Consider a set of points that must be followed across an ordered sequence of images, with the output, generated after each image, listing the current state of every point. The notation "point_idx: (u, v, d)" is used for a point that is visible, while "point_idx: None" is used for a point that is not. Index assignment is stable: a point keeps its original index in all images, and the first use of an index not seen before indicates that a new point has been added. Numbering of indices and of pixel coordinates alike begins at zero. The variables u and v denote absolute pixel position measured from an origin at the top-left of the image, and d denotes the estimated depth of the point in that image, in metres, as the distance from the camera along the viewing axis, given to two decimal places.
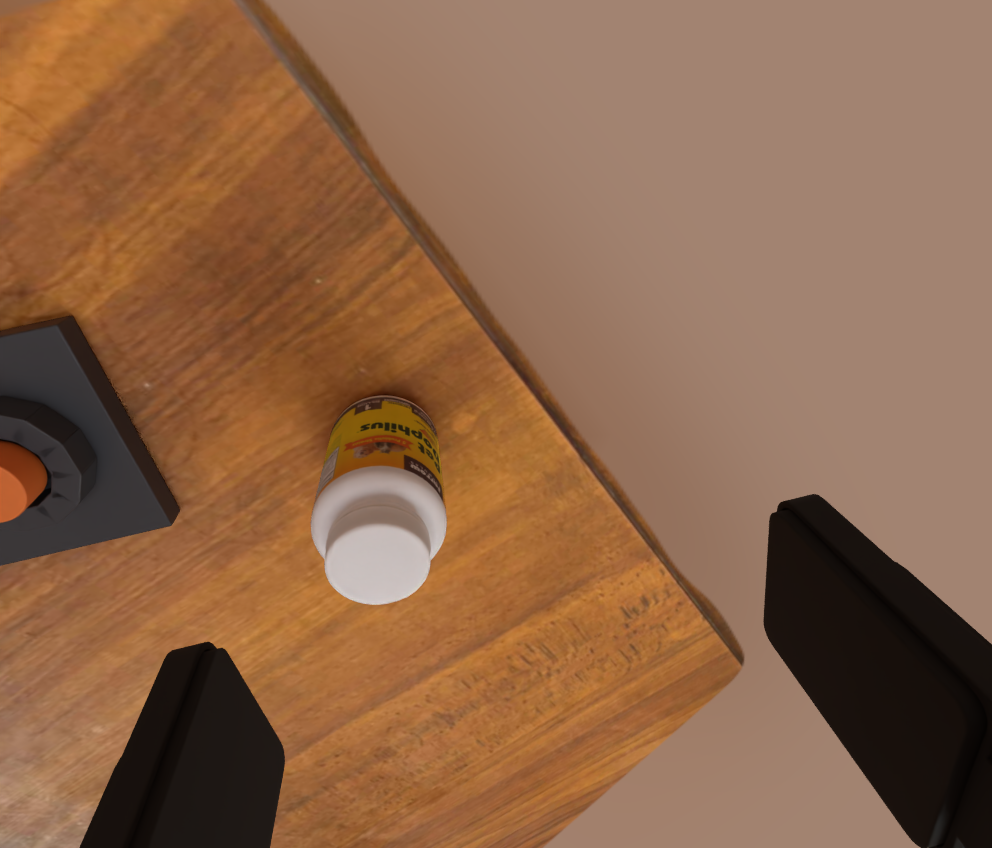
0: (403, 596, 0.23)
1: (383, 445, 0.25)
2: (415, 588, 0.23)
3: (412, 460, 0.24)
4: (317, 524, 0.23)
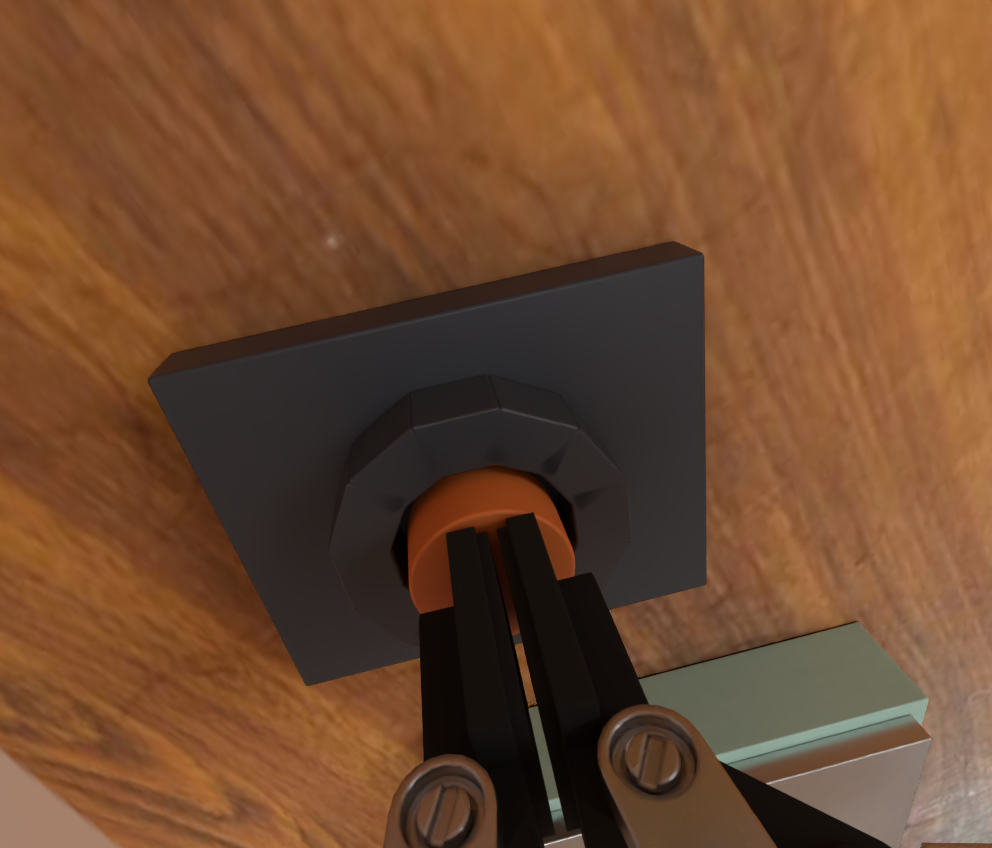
0: None
1: None
2: None
3: None
4: None
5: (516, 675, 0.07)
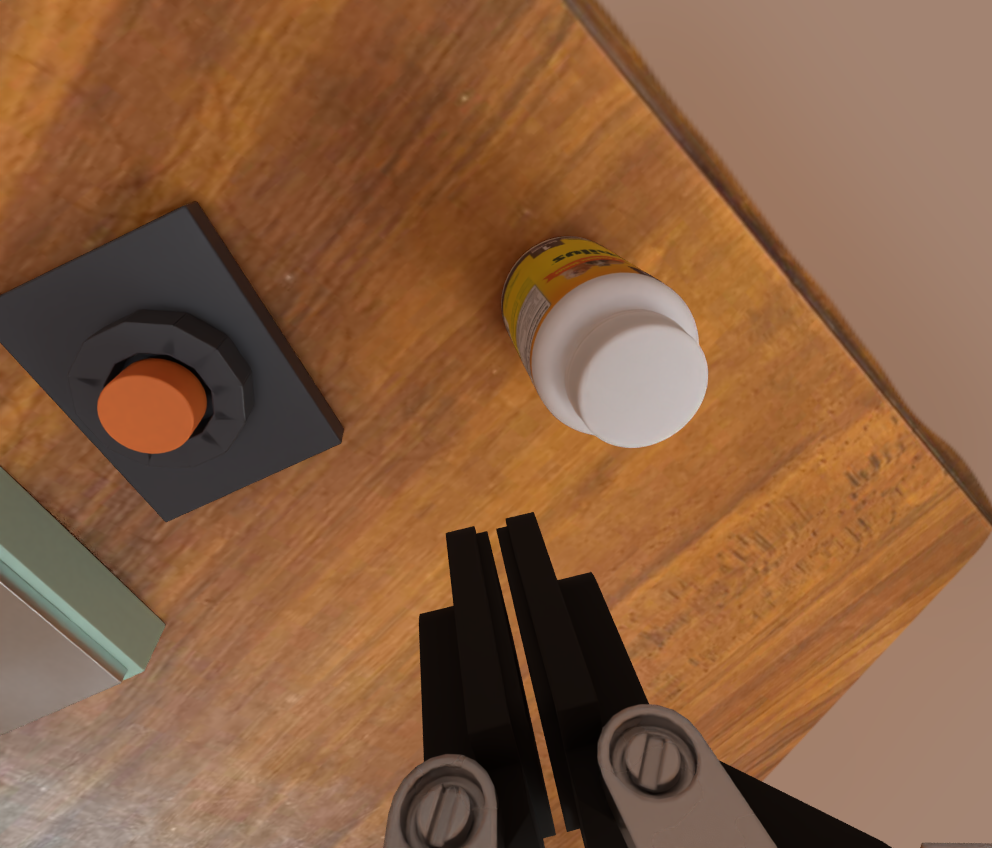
0: (675, 429, 0.18)
1: (596, 262, 0.19)
2: (690, 415, 0.17)
3: (639, 270, 0.19)
4: (545, 363, 0.18)
5: (516, 675, 0.07)
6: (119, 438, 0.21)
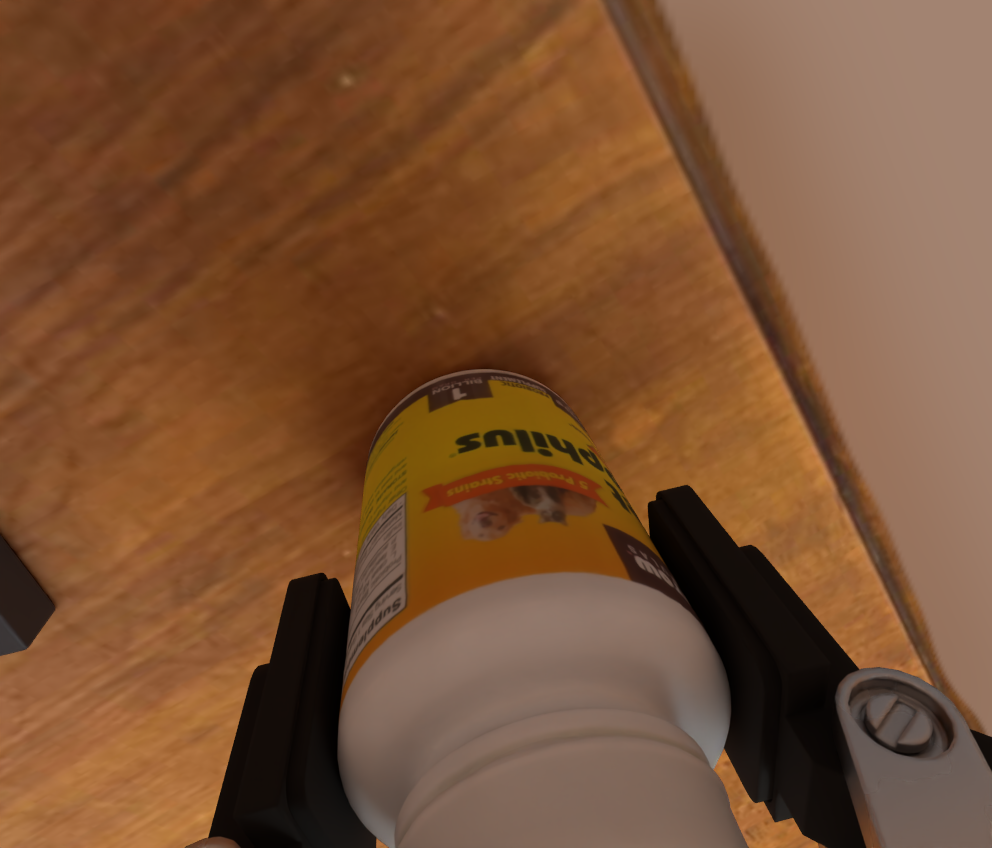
0: None
1: (539, 495, 0.09)
2: None
3: (629, 541, 0.08)
4: (360, 762, 0.07)
5: (306, 747, 0.07)
6: None
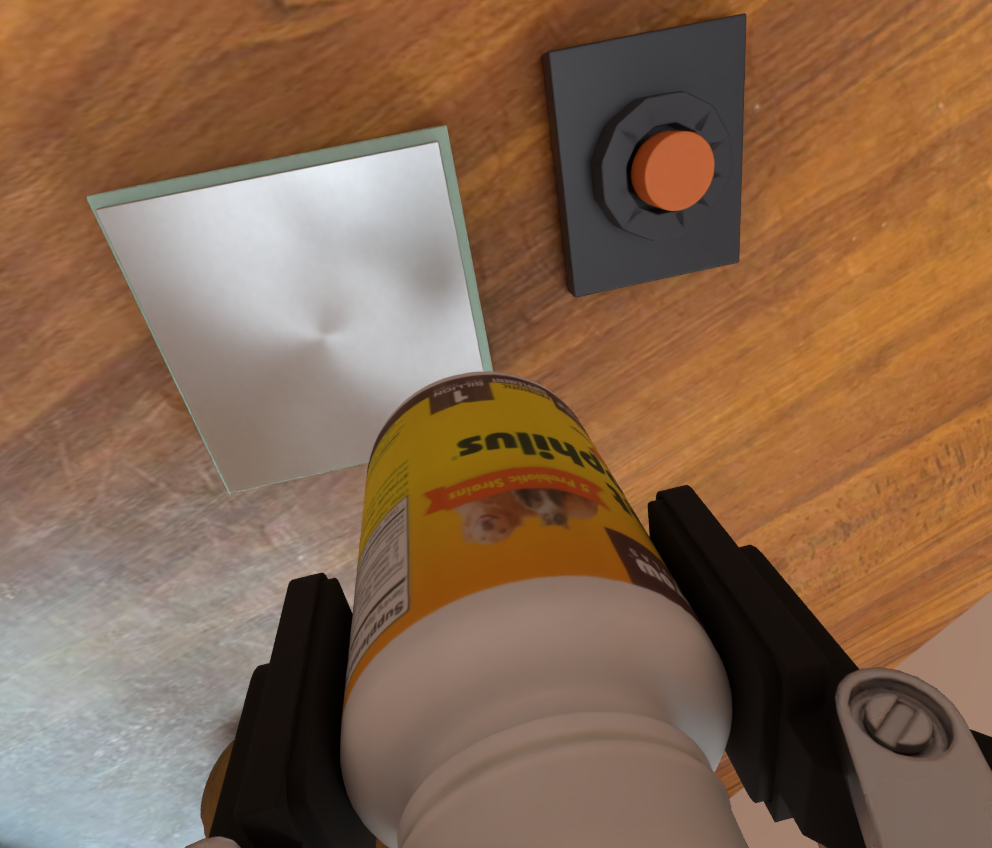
0: None
1: (540, 498, 0.09)
2: None
3: (630, 544, 0.08)
4: (363, 765, 0.07)
5: (306, 746, 0.07)
6: (650, 186, 0.25)
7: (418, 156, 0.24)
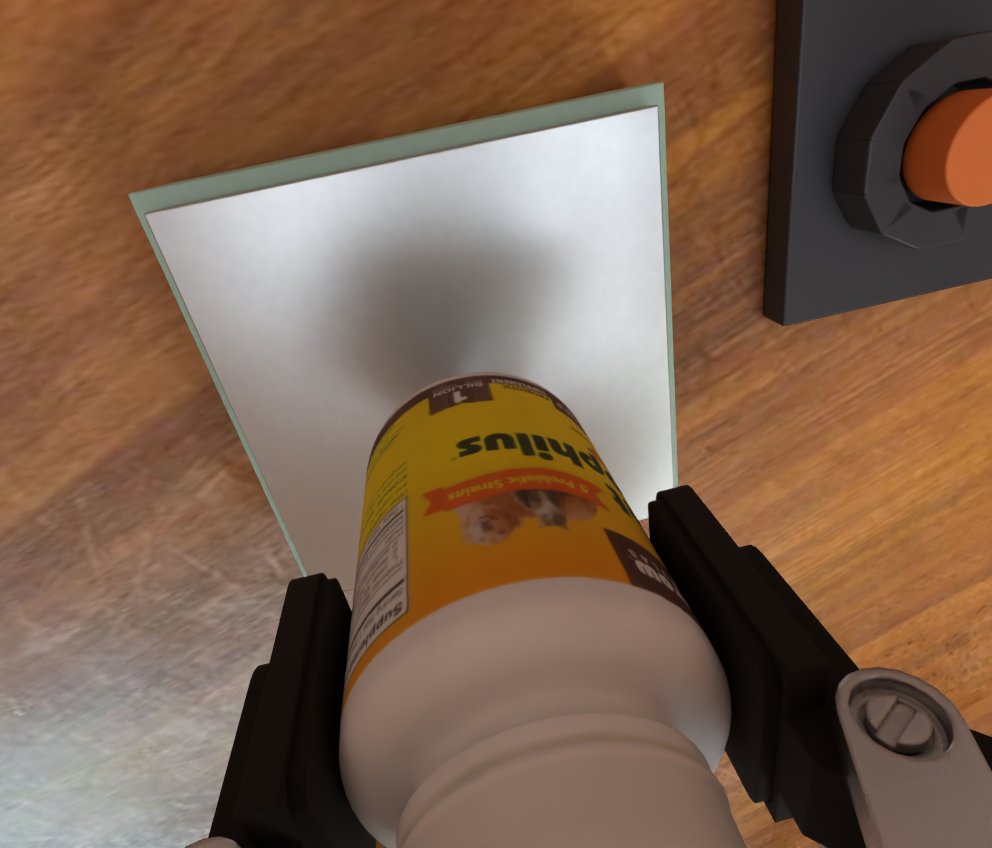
0: None
1: (539, 499, 0.09)
2: None
3: (629, 546, 0.08)
4: (362, 766, 0.07)
5: (307, 746, 0.07)
6: (953, 170, 0.17)
7: (627, 129, 0.16)
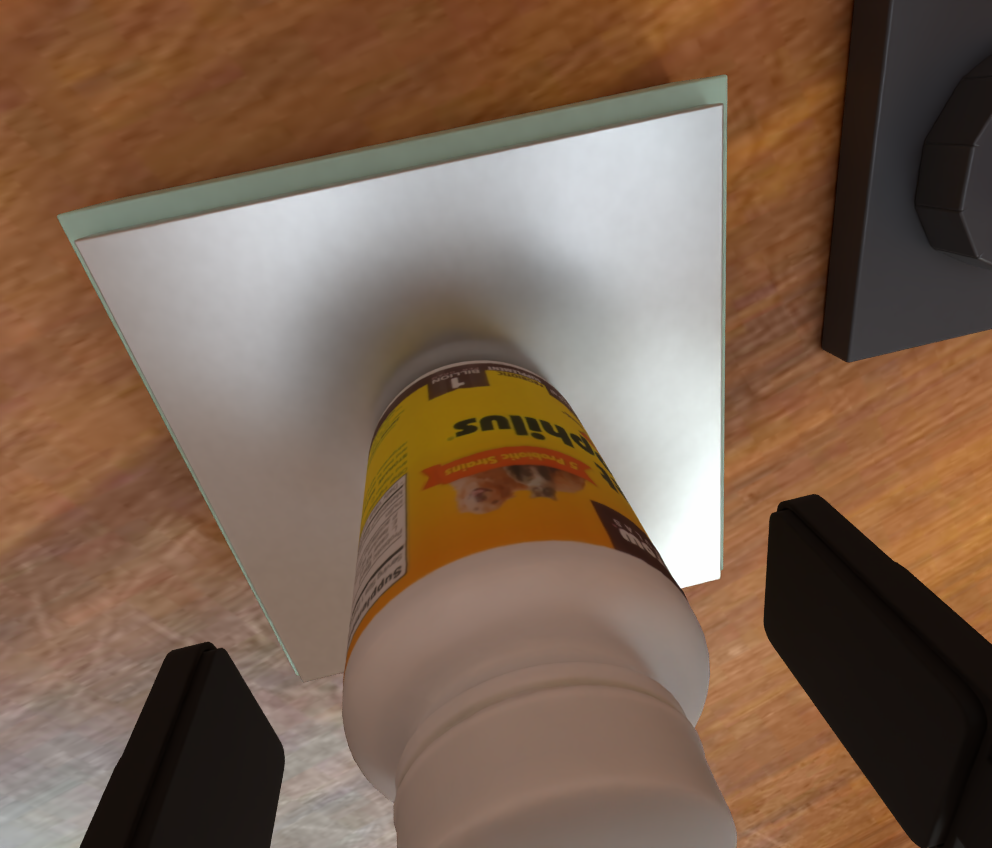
0: None
1: (531, 473, 0.09)
2: None
3: (614, 516, 0.09)
4: (363, 715, 0.08)
5: None
6: None
7: (684, 132, 0.13)
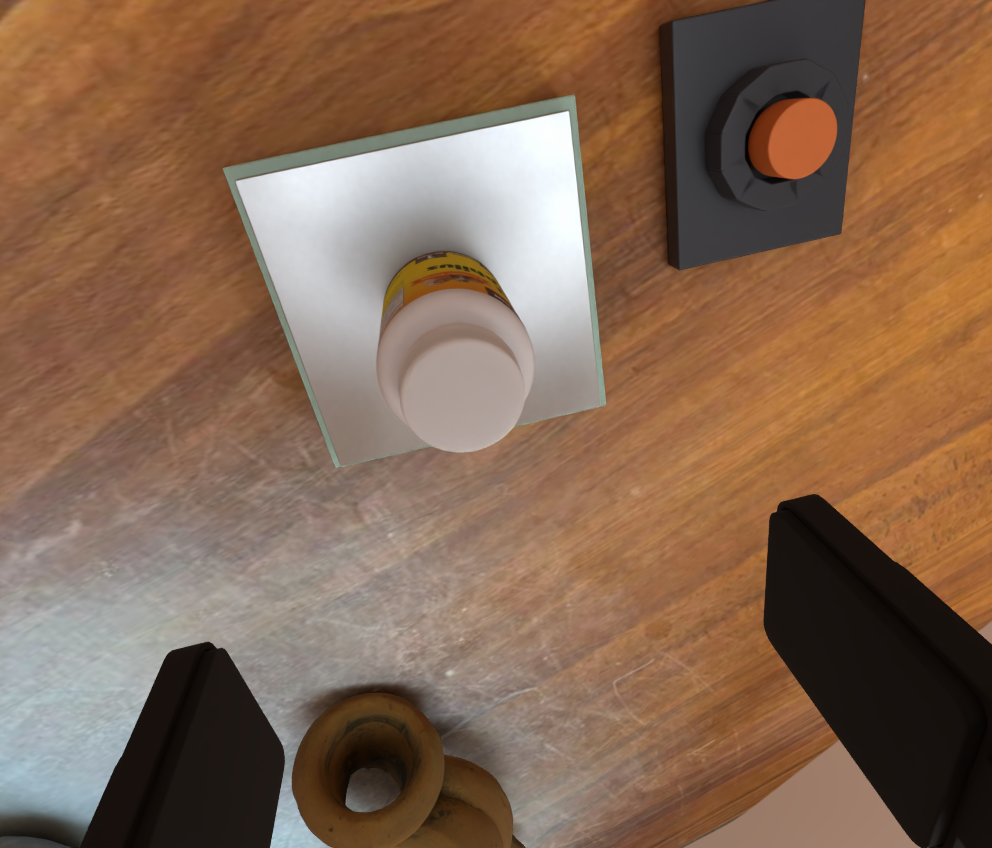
0: (490, 442, 0.19)
1: (459, 277, 0.21)
2: (505, 431, 0.19)
3: (494, 292, 0.20)
4: (386, 358, 0.19)
5: None
6: (773, 154, 0.25)
7: (549, 125, 0.24)
